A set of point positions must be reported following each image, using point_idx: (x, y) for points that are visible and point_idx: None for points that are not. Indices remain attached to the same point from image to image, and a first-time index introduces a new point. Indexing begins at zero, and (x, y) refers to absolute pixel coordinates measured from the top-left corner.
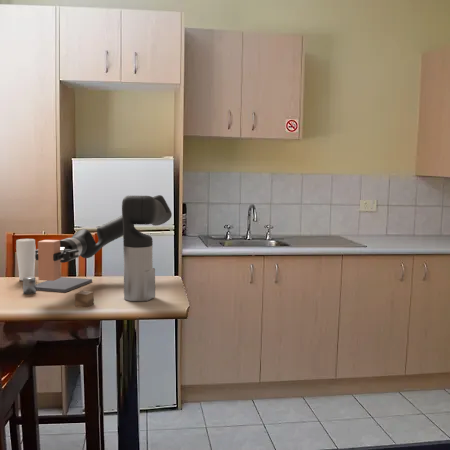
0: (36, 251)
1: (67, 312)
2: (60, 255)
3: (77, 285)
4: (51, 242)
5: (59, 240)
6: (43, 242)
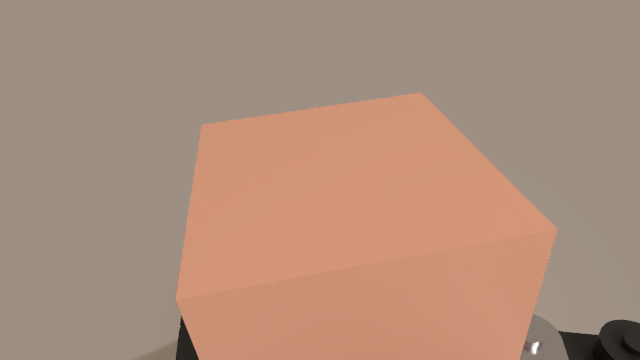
0: (608, 325)
1: (154, 356)
2: (182, 339)
3: None
4: (230, 124)
5: (179, 272)
6: (344, 111)
